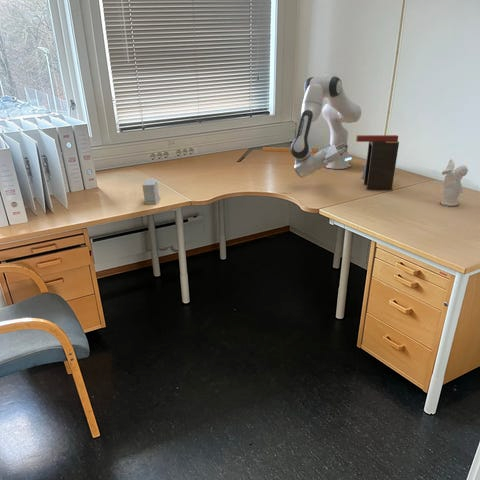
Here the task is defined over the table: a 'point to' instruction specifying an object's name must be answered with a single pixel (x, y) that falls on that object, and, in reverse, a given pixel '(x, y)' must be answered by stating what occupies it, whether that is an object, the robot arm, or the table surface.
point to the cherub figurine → (452, 183)
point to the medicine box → (364, 171)
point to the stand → (380, 165)
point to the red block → (377, 138)
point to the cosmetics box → (151, 191)
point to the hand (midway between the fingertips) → (344, 146)
